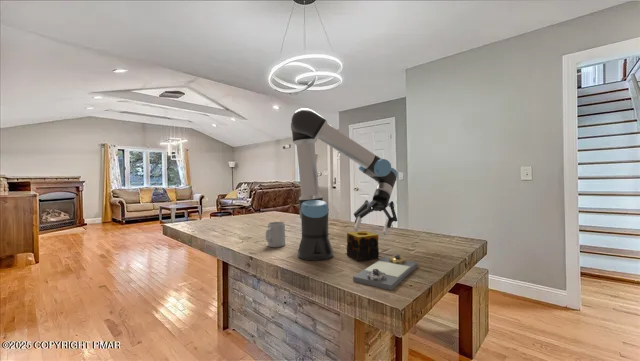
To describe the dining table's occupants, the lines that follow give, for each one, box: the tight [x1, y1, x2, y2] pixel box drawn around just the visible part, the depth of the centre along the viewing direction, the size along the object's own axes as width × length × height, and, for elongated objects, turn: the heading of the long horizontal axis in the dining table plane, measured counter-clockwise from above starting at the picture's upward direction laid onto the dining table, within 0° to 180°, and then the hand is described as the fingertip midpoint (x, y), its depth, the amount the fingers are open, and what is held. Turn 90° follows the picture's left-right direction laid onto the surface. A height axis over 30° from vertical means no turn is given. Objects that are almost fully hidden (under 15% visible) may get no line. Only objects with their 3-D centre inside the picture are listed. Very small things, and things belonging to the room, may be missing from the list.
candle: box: [346, 230, 380, 263], centre depth 115 cm, size 10×10×10 cm
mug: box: [265, 221, 286, 248], centre depth 136 cm, size 12×8×11 cm
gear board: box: [352, 254, 418, 291], centre depth 96 cm, size 13×26×4 cm, turn 144°
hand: (369, 231), depth 118 cm, fingers open, 13 cm apart
